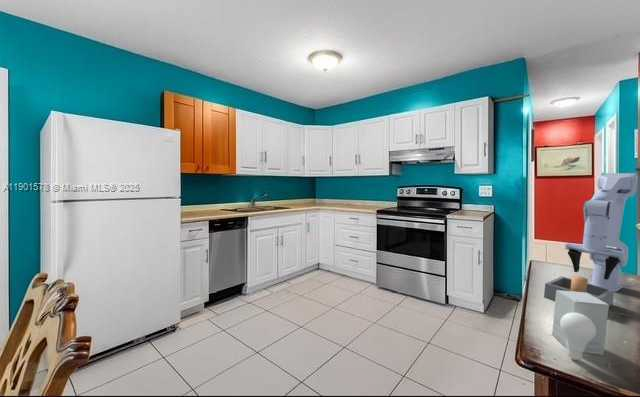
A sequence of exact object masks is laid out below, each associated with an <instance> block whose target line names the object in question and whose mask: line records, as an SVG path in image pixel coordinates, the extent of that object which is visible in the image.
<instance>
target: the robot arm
mask: <svg viewBox="0 0 640 397" xmlns="http://www.w3.org/2000/svg"><path fill="white" fill-rule="evenodd" d="M638 180H639V176H638V173H636V172H633V173H628V172H627V173H626V172H623V173H620V172H616V173H615V172H611V173H610V172H609V173H608V172H601V173H600V174H598V177H597V184H596V185H597V188H598V190H596V192H595V193H594V194H593V196H592V197H591V199H589V200H586V201H585V202H584V204H583V221H584V229H583V237H582V238H583V240H582V245H581V244H573V243H565V250H568V251H567V254H568V256H569V259H570V261H571V263H572V268H573V272H574V273H578V272H580V266H581V265H580V263H581V257H582V253H586V254H588V255H589V260H591V261H592V263H593V271H592V277H591V278H592V280H591V281H590V282H588V283H589V284H593V285H596V286H600V287H604V288H608V289H612V290H614V293H616V292H618V291H619V290H621V289H623V288H624V285H621V277H622V269H621V267H625V266H627V264H628V260H629V247H628V246H627V244H626V243H625V242H622V241H621V240H620V235H621V229H622V222H623V218H624V210H625V204H626V202H627V201H628V198H631V197H634V196H635V194H636V193H637V192H636V191H637V186H638Z"/></svg>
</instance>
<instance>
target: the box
mask: <svg viewBox="0 0 640 397" xmlns="http://www.w3.org/2000/svg"><path fill="white" fill-rule="evenodd" d="M571 281H572V278H570V277H565V276H559V277H558V278H554V279H553V280H550V281H547V282H546V283H544V291H543V292H544V293H543V298H546V299H547V300H548V299H549V300H552V301H554V302H555V299H556V290H560V291H573V290H571ZM574 292H576V291H574ZM586 293H589V294H590V295H592V296H594V297H596V298H597V299H599V300H601V301H603V302H605V303H607V304H608V305H609V308H610V307H611V306H612V305H613V301H614V295H615V292H614V290H612V289H608V288H604V287H600V286H596V285H593V284H589V282H588V283H587V292H586Z"/></svg>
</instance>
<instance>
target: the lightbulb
mask: <svg viewBox="0 0 640 397" xmlns="http://www.w3.org/2000/svg"><path fill="white" fill-rule="evenodd" d="M560 326H561V328H562V331H563V333H564V334H565V337H566V345H567V348H566V350H567V352H566V353H567V356H568V357H569V358H571V359H572V360H573V361H579V360H582V358H583V354H584V353H583V352H584V350H585V347H586V345H587V343H588V342H589V341H591V340H592V339H593V338H594V337H595V335H596V328H595V325H594V323H593V322H592V321H591V320H590V319H589V318H588V317H586V316H584V315H582V314H580V313H567V314H565V315H564V316H563V317H562V318H561V320H560Z"/></svg>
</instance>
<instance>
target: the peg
mask: <svg viewBox="0 0 640 397" xmlns="http://www.w3.org/2000/svg"><path fill="white" fill-rule="evenodd" d="M571 279H572V281H571V290H573V291H576V292H585V293H586V292H587V283H589V282H588V281H589V280H588V278H586V277H582V276H577V275H572V276H571Z"/></svg>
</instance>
